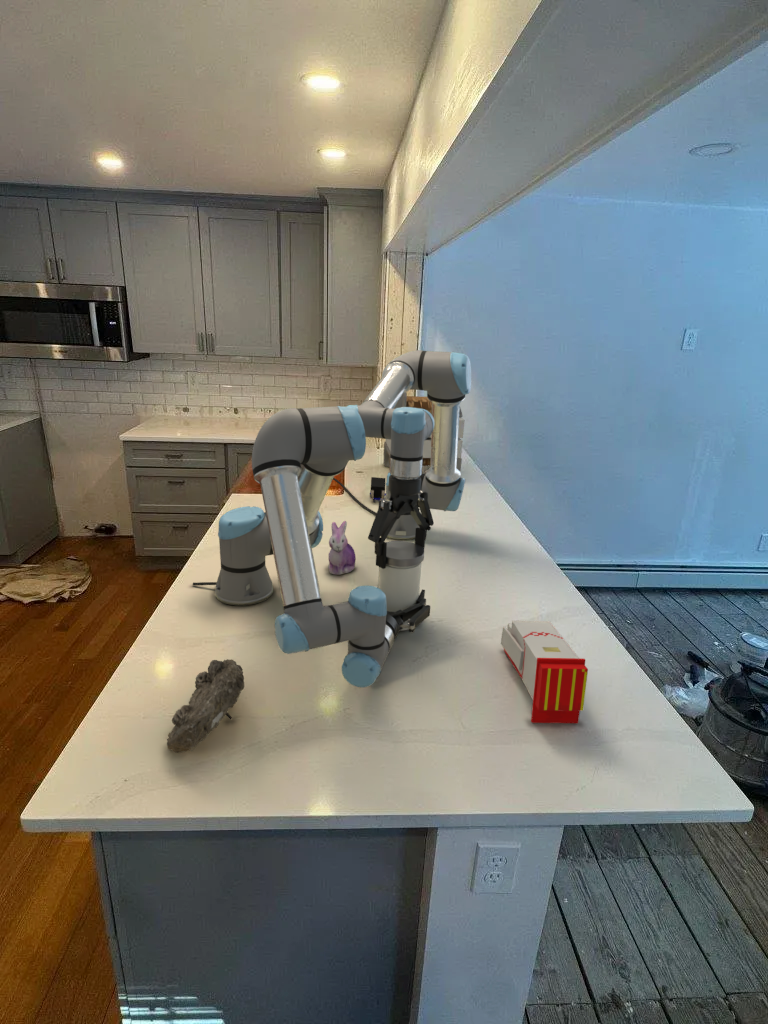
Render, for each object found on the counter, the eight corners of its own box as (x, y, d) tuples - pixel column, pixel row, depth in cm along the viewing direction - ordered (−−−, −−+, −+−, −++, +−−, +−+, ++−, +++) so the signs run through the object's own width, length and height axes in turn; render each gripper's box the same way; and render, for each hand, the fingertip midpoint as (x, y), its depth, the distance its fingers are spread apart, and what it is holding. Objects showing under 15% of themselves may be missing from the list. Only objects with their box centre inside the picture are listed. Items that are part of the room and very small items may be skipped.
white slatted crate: (382, 463, 289) (386, 382, 275) (445, 464, 293) (451, 384, 279) (390, 482, 257) (394, 392, 243) (460, 483, 261) (468, 394, 247)
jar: (368, 616, 146) (371, 550, 139) (401, 606, 151) (405, 542, 145) (392, 635, 138) (396, 565, 132) (425, 623, 144) (430, 556, 137)
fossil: (192, 660, 117) (244, 628, 112) (224, 691, 120) (276, 661, 115) (142, 746, 98) (202, 712, 93) (182, 779, 101) (242, 748, 96)
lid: (369, 551, 141) (369, 544, 140) (408, 544, 146) (409, 538, 145) (391, 570, 131) (391, 562, 131) (432, 562, 137) (433, 554, 136)
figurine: (333, 578, 165) (334, 530, 160) (320, 564, 173) (320, 518, 168) (362, 573, 169) (364, 526, 164) (348, 559, 177) (349, 514, 172)
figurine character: (385, 507, 229) (385, 492, 243) (386, 490, 226) (386, 476, 239) (369, 507, 229) (369, 491, 242) (369, 490, 226) (370, 475, 239)
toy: (547, 606, 135) (596, 665, 106) (541, 658, 138) (589, 729, 108) (496, 604, 134) (532, 664, 105) (492, 657, 137) (526, 729, 108)
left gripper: (330, 640, 130) (359, 596, 150) (428, 659, 125) (444, 611, 145) (330, 611, 128) (360, 570, 148) (430, 629, 122) (447, 584, 142)
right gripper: (430, 464, 142) (424, 543, 149) (354, 480, 126) (351, 567, 134) (452, 471, 137) (445, 552, 144) (376, 488, 121) (372, 578, 128)
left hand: (402, 590), depth 146 cm, fingers closed on jar, 10 cm apart
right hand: (400, 559), depth 139 cm, fingers open, 12 cm apart
